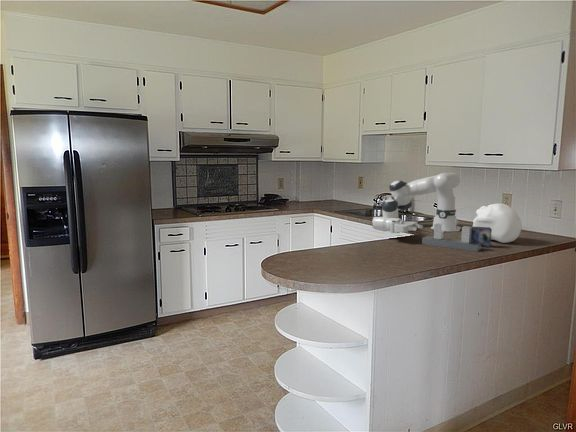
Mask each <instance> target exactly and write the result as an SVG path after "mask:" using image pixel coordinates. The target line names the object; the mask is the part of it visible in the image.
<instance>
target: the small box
mask: <svg viewBox="0 0 576 432" xmlns="http://www.w3.org/2000/svg"><path fill="white" fill-rule="evenodd" d="M469 227H472V234H471V242H478V243H482V244H481V248H491V241H492V240H491V232H492V229H491V228H490V227H473V225H472V226H469Z"/></svg>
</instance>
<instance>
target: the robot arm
mask: <svg viewBox="0 0 576 432" xmlns="http://www.w3.org/2000/svg"><path fill="white" fill-rule="evenodd" d="M460 183H461V177H460V175H458V173H455V172H441V173H439V174H437V175H432V176H427V177H423V178H419V179H415V180H413V181H409V182H408V183H407V182H406V181H403V180H394V181H393V182H391V183H390V184H389V186H388V187H389V188H388V189H389V191H390V193H391V195H386V196H385V197H384V198H383V199H382V202H381V204H380V205H381V211H382V213H381V214H382V216H373V217H372V221H371V225H372V228H373V230H377V231H381V232H389V233H391V234H400V233H406V232H407V233H408V232H409V231H413V232H414V231H415V232H416V231H417V229H424V228H423V227H424V225H423V224H419V223H418V222H417V221H411V220H410V221H404V220H403V219H402V218H400V217H399V211H407V210H409V209H410V208H411V207H412V205H413V202H412V200H411V196H414V197H415V196H422V195H423V196H424V195H427V194H430V193H431V194H432V193H436V195H437V203H436V204H437V205H436V206H437V208H436V211H435V216H434V217H433V223H432V226H431V227H430V230H431V229H432V230H434V224H436V223H439V224H444V231H443V232H460V230H462V227H461V226H459V224H458V223H459V220H458V218H457V216H456V212H457V209H455V207H456V197H455V194H454V188H456V187H458V186H459V185H460Z"/></svg>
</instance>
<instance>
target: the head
mask: <svg viewBox="0 0 576 432" xmlns="http://www.w3.org/2000/svg"><path fill="white" fill-rule="evenodd" d="M475 214H476V216H475V218H474V219H473V220H472V222H473V223H472V227H490V228H491V229H492V232H491V241H496V242H499V243H501V244H508V243H511V242H514V241H515V240H517V239H518V238H519V236H520V234H521V232H522V221H521V217H520V216H519V214H518V213H517V212H516V211H515V209H513V208H512V207H511V206H510V205H507V204H505V203H500V202H499V203H492V204H489V205H487V206H486V205H482V206H481V207H479V208H478V209H476V211H475Z"/></svg>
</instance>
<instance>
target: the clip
mask: <svg viewBox="0 0 576 432" xmlns="http://www.w3.org/2000/svg"><path fill="white" fill-rule="evenodd" d="M444 232H445V231H444V224H439V223H436V224H434V229H433V237H434V239H436V240H443V238H444Z"/></svg>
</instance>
